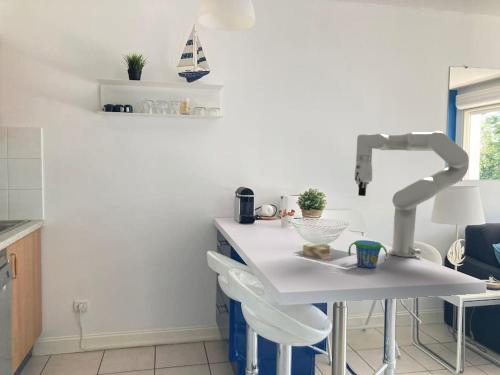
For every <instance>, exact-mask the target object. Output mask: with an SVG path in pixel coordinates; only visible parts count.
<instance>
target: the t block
mask: <svg viewBox="0 0 500 375" xmlns="http://www.w3.org/2000/svg"><path fill="white" fill-rule="evenodd" d="M302 246H303V247H302V251H303V254H306V255H310V256H314V257H318V258H322V259H323V258H327V257H328V254H329V253H330V249H331V245H329V244H324V243H321V244H316V245H314V244H310V243H308V244H303V245H302Z"/></svg>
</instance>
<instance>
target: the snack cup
mask: <svg viewBox="0 0 500 375" xmlns="http://www.w3.org/2000/svg"><path fill="white" fill-rule="evenodd" d="M353 245H355V249H356V261H357V265H358V266H359V267H360V268H367V269H374V268H377V264H378V260H379V256H380V252H381V250H382V249H381V248H383V250H384V252H385V258H384V261H385V262H386V261H387V257H388V251H387V248H386V247H385V246H384V245H383V244H382V243H380V242H378V241H374V240H373V241H372V240H365V239H361V240H360V239H359V240H356V241H353V242H352V243H351V244H350V245H349V247H348V251H347V252H348V253H349V256H348V257H351V254H350V253H351V247H352V246H353Z"/></svg>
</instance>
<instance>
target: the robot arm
mask: <svg viewBox="0 0 500 375" xmlns="http://www.w3.org/2000/svg"><path fill="white" fill-rule="evenodd" d="M374 149H375V150H380V151H407V152H409V151H410V152H412V151H415V152H419V151H420V152H421V151H422V152H425V151H427V152H434V153H435V154H436V155H437V156H438V157H440V158H441V159H442V160H443V161H444V162H445V163H447V166H446V167H445V168H442V169H441V170H439V171H438V172H436V173H433V174H432V175H430V176H427V177H423V178H420V179H418V180H417V181H414V182H412V183H410V184H409V185H407V186H405V187H403V188H401V189H399V190H398V191H396V192H395V193H394V194H393V196H392V204H393V207H394V216H393V218H394V219H393V231H392V233H393V234H392V248H391V249H389V250H388V253H389V254H391V255H392V256H396V257H403V258H414V257H417V254H418V255H422V253H423V250H422V249H419V248H417V246H416V245H415V244H414V242H415V230H416V218H417V217H416V215H417V206H418V205H420V204H422V203H424V202H427V201H429V200H430V199H432V198H434V197H435V196H436V195H438V194H439V193H441V192H443V191H445V190H447V189H449V188H451V187H452V186H454V185H456V184H458V183H459V182H460V181H461V180H462V179H463V178H465V176H466V175H467V172H468V170H469V163H470V160H469V157H470V156H469V155H468V153H467V152H466V150H464V149H463V148H462V147H461V146H459V145H458V143H456V142H455V141H454V140H453V139H451V137H449V136H448V134H446V133H445V132H443V131H441V130H436V131H433V132H407V133H405V134H397V135H396V134H395V135H393V134H392V135H389V134H388V135H387V134H386V135H385V134H383V133H376V134H365V133H364V134H358V135H357V138H356V152H355V153H356V155H355V168H354V181H355V184H356V185H357V188H358V196H361V197H365V196H366V194H367V193H366V192H367V188H368V187H367V186H368V185H369V184H370V183H371V182H372V181H373V166H372V165H373V162H372V160H373V150H374Z"/></svg>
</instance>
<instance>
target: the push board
mask: <svg viewBox="0 0 500 375" xmlns="http://www.w3.org/2000/svg"><path fill="white" fill-rule="evenodd" d="M295 254H296V256H298V257H299V256H300V255H301V256H300V257H302V258H303V257H309V258H312V259H313V258H314V259H316V260H317V261H321V260H323V261H321V262H324V261H326V262H332V261H336V260H340V259H344V258H347V257H351V256H355V255H356V256H357V253H354V252H350V254H351V256H349V253H348V251H344V250H340V249H335V248H330V253H329V254H328V257H327V258H323V259H322V258H318V257H314V256H310V255H306V254H303V250H300V251H295V252H293V254H292V255H293V256H294V255H295Z"/></svg>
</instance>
